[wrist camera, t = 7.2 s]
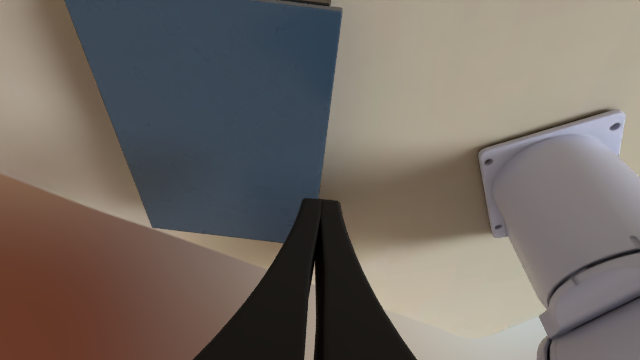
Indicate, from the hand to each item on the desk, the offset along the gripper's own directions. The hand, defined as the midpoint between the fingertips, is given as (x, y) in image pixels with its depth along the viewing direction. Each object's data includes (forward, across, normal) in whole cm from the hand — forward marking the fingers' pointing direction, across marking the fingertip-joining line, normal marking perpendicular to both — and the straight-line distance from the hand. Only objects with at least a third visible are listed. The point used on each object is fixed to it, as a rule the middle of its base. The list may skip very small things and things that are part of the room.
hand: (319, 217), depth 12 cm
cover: (+6, +6, +2) cm, 9 cm away
